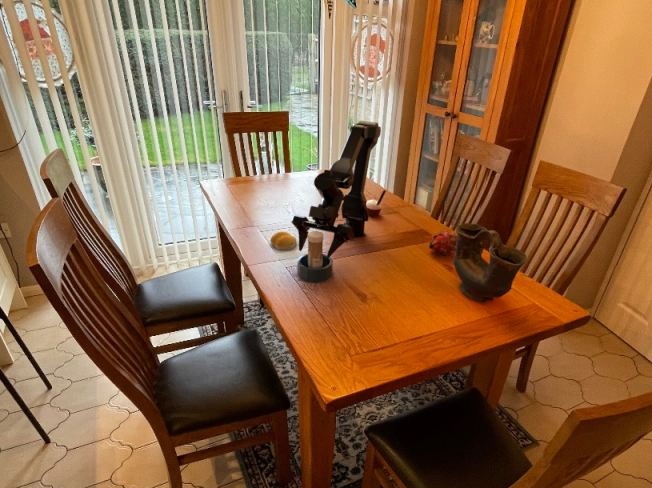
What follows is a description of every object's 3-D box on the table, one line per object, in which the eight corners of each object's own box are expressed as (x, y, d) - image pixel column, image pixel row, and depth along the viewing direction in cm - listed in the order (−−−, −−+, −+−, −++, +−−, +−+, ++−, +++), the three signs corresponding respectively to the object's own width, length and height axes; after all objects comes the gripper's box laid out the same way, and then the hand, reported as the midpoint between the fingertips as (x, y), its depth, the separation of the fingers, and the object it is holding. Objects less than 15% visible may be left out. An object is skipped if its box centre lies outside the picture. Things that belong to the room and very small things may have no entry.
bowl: (324, 263, 136) (324, 251, 133) (337, 279, 128) (338, 266, 126) (293, 268, 132) (293, 256, 129) (304, 285, 124) (304, 271, 122)
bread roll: (281, 252, 141) (281, 241, 139) (267, 242, 146) (266, 232, 144) (302, 246, 146) (301, 235, 143) (287, 237, 151) (287, 226, 149)
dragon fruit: (457, 254, 150) (429, 265, 146) (446, 234, 152) (418, 244, 148) (468, 243, 142) (439, 254, 138) (456, 222, 144) (427, 232, 140)
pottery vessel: (438, 274, 133) (448, 215, 123) (466, 269, 137) (479, 211, 127) (488, 319, 114) (506, 253, 104) (520, 311, 118) (540, 247, 107)
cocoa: (362, 211, 176) (363, 183, 169) (376, 210, 177) (378, 182, 171) (370, 220, 168) (372, 191, 162) (384, 219, 170) (387, 190, 164)
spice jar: (319, 278, 127) (319, 238, 120) (305, 275, 128) (305, 235, 121) (324, 271, 131) (325, 232, 124) (311, 269, 132) (311, 229, 125)
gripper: (293, 188, 123) (275, 236, 120) (352, 199, 118) (335, 250, 115) (305, 205, 134) (289, 250, 131) (361, 216, 128) (345, 264, 125)
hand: (313, 253), depth 125 cm, fingers open, 9 cm apart
